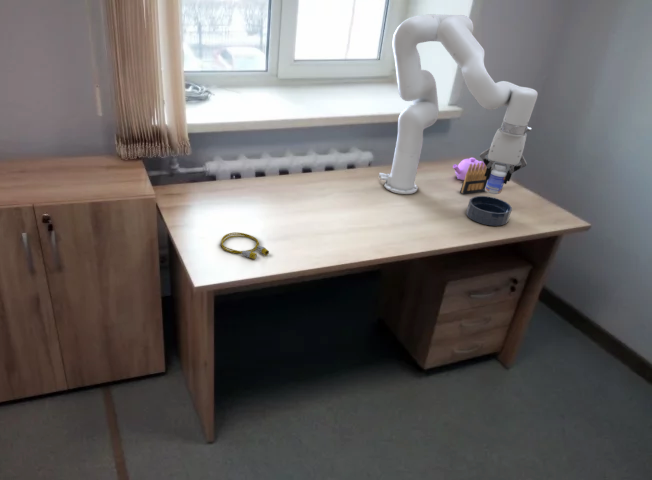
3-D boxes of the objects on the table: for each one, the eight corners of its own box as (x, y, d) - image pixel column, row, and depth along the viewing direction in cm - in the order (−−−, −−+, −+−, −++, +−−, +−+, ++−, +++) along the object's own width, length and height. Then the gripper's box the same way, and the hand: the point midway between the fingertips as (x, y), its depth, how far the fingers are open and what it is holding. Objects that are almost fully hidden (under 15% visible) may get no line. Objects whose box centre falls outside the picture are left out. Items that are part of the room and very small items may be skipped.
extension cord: (230, 263, 150) (230, 257, 149) (216, 237, 163) (216, 232, 162) (270, 258, 154) (270, 252, 153) (253, 233, 167) (253, 227, 165)
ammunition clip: (462, 194, 202) (470, 164, 196) (459, 192, 204) (467, 162, 197) (485, 191, 206) (493, 162, 199) (481, 189, 207) (490, 160, 201)
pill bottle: (501, 195, 179) (511, 168, 173) (485, 193, 179) (494, 166, 174) (499, 189, 183) (508, 162, 178) (483, 186, 184) (492, 160, 178)
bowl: (463, 220, 183) (467, 207, 180) (468, 205, 194) (471, 192, 191) (506, 230, 179) (510, 217, 176) (508, 214, 190) (512, 201, 187)
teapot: (488, 184, 213) (495, 162, 207) (456, 186, 208) (462, 164, 203) (473, 174, 221) (479, 152, 216) (442, 176, 217) (447, 154, 211)
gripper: (541, 130, 169) (522, 182, 180) (486, 120, 174) (471, 171, 184) (541, 136, 164) (522, 190, 174) (484, 126, 168) (469, 178, 179)
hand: (496, 180), depth 179 cm, fingers closed on pill bottle, 5 cm apart
